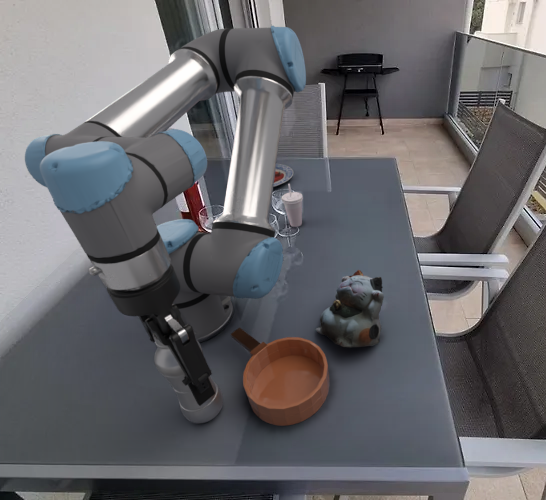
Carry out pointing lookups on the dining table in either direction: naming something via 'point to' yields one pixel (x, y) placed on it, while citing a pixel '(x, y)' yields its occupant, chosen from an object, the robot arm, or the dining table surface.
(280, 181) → the ceramic plate
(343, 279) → the lucky cat figurine
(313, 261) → the dining table surface
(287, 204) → the smoothie
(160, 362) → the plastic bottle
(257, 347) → the pan handle
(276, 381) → the pan
